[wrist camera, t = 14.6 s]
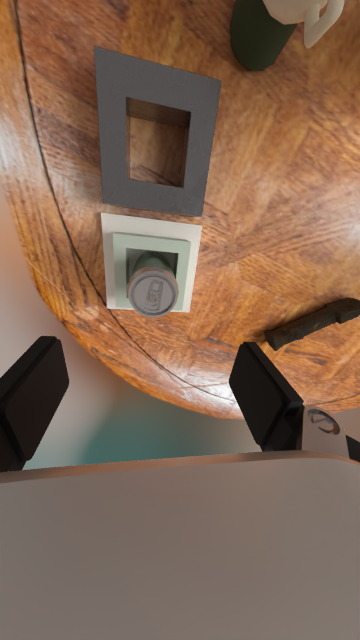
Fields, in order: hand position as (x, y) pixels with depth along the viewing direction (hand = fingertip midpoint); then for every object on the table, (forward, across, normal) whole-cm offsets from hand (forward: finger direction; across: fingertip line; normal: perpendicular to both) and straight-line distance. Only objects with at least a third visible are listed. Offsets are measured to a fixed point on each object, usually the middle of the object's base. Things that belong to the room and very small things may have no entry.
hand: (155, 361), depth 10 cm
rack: (+23, 0, 0) cm, 23 cm away
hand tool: (+24, -32, +7) cm, 40 cm away
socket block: (+23, 0, -14) cm, 27 cm away
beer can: (+22, 0, 0) cm, 22 cm away
